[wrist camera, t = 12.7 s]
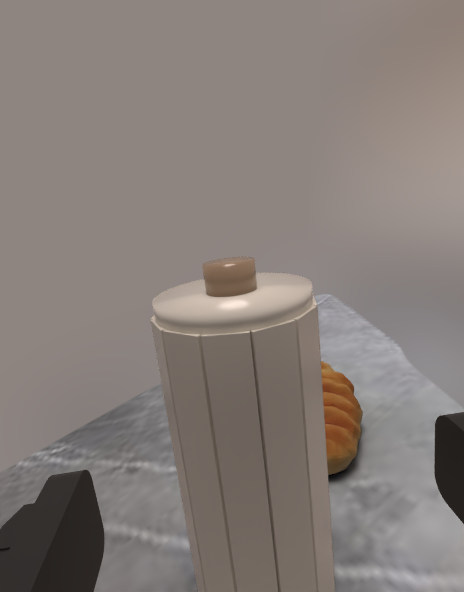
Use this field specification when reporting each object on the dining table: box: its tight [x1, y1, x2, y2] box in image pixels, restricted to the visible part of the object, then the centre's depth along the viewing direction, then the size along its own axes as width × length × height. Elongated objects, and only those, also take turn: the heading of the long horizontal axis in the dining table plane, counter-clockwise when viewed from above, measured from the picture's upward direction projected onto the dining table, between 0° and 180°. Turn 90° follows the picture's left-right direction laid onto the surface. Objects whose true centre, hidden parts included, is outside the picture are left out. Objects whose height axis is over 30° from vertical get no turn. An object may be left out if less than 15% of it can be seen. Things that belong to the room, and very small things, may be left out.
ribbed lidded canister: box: [151, 257, 335, 592], centre depth 15 cm, size 6×6×14 cm
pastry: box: [321, 361, 363, 475], centre depth 25 cm, size 9×7×4 cm
